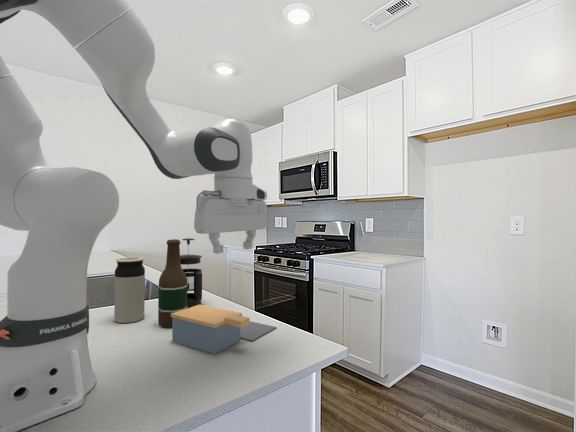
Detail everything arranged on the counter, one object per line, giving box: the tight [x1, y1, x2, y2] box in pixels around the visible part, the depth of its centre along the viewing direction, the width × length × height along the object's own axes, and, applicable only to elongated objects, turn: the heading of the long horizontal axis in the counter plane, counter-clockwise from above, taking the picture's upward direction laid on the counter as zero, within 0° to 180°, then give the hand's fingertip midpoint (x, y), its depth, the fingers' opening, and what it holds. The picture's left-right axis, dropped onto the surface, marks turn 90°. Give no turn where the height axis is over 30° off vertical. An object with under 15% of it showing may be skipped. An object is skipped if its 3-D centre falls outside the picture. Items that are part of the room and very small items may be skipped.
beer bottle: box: [157, 238, 188, 329], centre depth 91 cm, size 8×8×24 cm
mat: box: [240, 321, 277, 343], centre depth 87 cm, size 11×14×1 cm
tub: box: [171, 318, 241, 355], centre depth 79 cm, size 9×14×6 cm, turn 60°
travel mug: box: [113, 256, 146, 324], centre depth 95 cm, size 8×8×18 cm
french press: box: [180, 237, 203, 308], centre depth 109 cm, size 12×9×23 cm
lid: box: [171, 304, 251, 328], centre depth 78 cm, size 10×19×2 cm, turn 60°
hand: (233, 250), depth 75 cm, fingers open, 8 cm apart
